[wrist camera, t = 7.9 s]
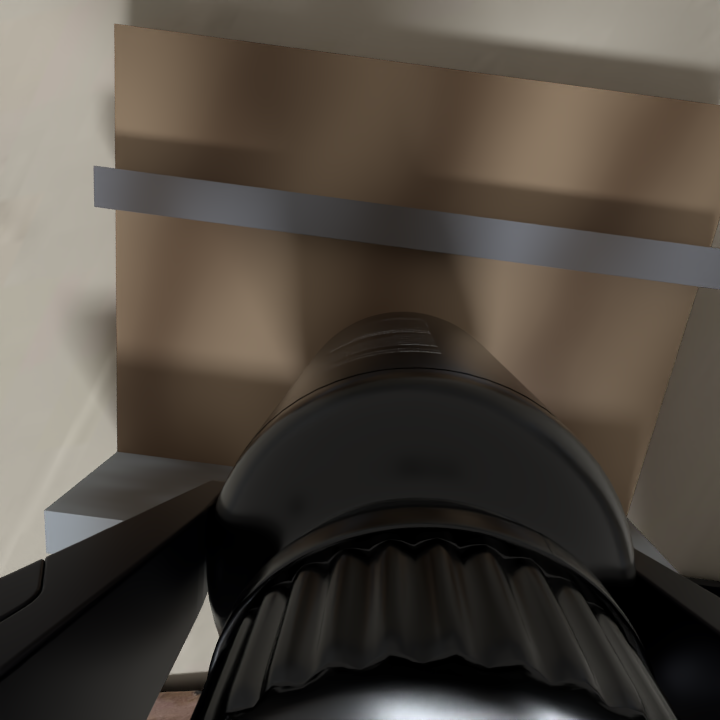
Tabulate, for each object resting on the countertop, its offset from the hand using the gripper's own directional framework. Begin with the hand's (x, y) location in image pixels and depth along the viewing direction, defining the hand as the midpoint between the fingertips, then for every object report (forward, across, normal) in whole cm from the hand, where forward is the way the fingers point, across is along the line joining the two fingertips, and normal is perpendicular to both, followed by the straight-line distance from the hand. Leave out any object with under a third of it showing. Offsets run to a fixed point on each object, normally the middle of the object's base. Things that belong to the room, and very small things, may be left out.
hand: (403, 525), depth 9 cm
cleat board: (+10, 0, -3) cm, 10 cm away
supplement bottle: (+7, 0, 0) cm, 7 cm away
